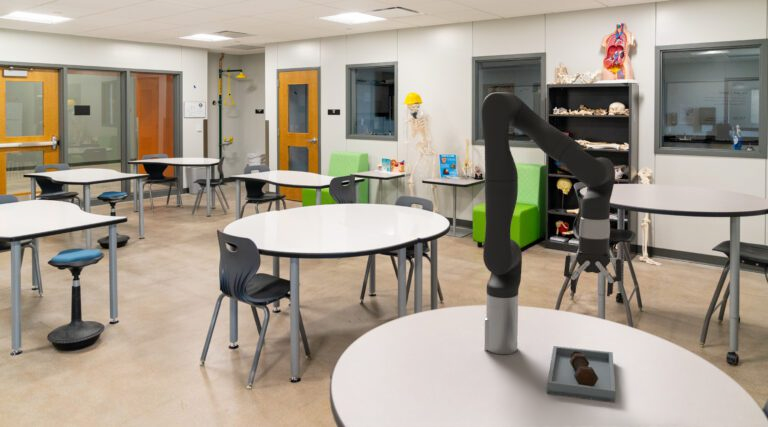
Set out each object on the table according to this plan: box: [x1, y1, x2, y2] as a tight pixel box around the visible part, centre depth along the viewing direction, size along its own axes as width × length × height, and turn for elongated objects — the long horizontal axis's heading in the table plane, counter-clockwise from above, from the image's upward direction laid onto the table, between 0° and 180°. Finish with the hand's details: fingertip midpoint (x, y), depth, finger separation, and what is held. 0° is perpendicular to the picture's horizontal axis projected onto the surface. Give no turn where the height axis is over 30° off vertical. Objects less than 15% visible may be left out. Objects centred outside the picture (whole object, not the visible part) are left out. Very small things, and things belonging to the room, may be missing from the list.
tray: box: [546, 345, 616, 403], centre depth 159 cm, size 16×24×3 cm, turn 161°
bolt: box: [570, 351, 598, 386], centre depth 158 cm, size 6×5×15 cm
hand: (591, 294), depth 159 cm, fingers open, 8 cm apart
